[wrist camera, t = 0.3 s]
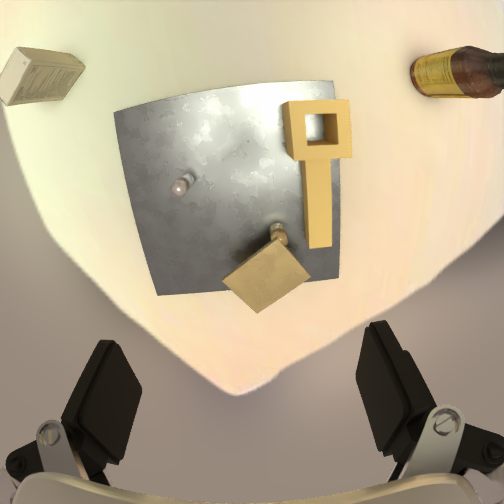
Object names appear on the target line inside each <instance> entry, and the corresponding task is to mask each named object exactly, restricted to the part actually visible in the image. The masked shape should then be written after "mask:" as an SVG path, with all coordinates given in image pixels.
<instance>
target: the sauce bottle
mask: <svg viewBox="0 0 504 504" xmlns="http://www.w3.org/2000/svg"><path fill="white" fill-rule="evenodd" d="M411 76H412V80H413V83H414V85H415V86H416V88H417V89H418V90H419V91H420V92H421V93H423V94H424V95H425V96H429V97H435V98H492V97H494V96H496V95H498V94H499V93H501V91H502V89H504V53H491V52H489V51H486V50H483V49H480V48H476V47H473V46H465V47H459V48H455V49H450V50H446V51H442V52H438V53H434V54H430V55H426V56H423V57H421V58H419V59H418V60H417V61H415V62H414V64H413V65H412V67H411Z"/></svg>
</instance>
